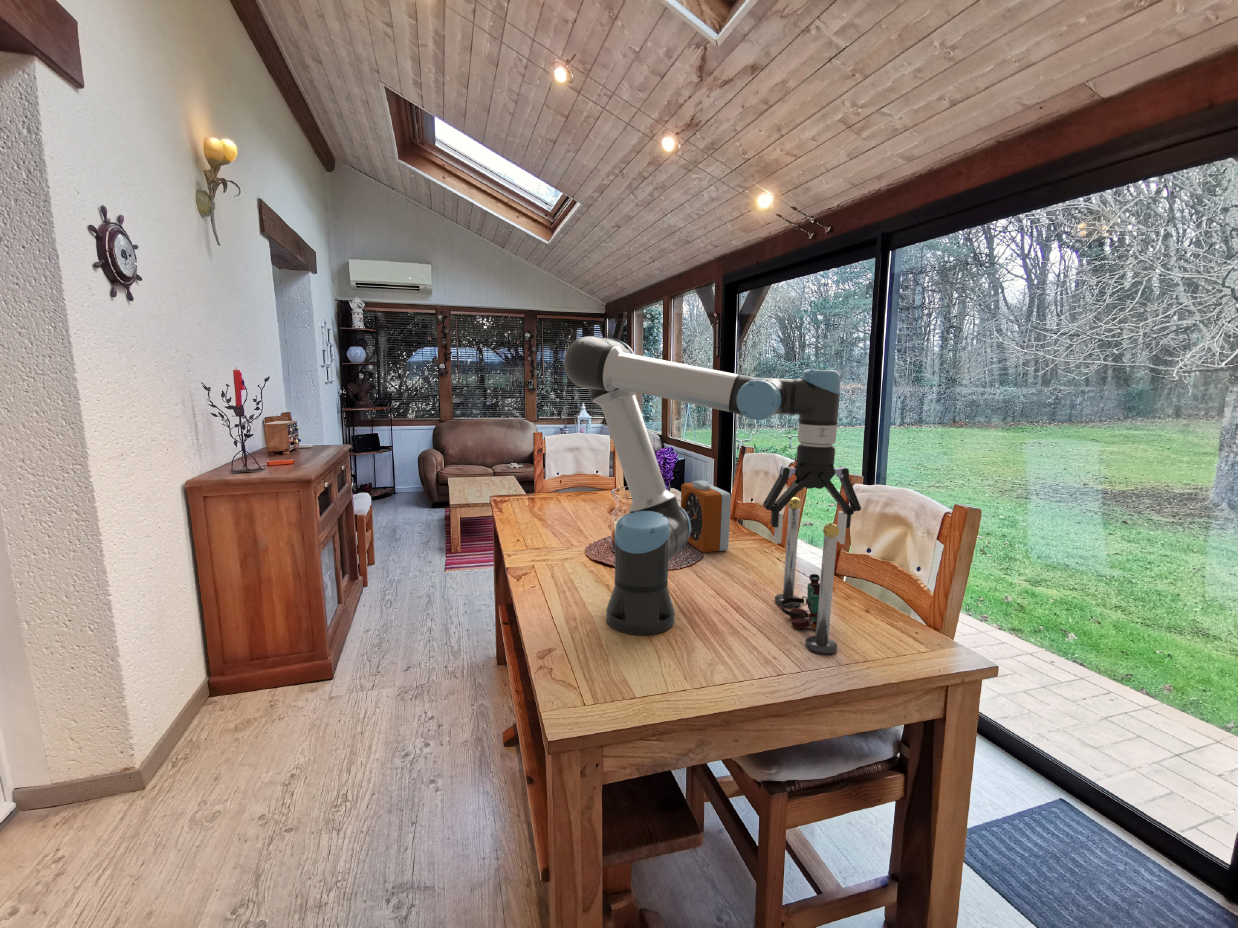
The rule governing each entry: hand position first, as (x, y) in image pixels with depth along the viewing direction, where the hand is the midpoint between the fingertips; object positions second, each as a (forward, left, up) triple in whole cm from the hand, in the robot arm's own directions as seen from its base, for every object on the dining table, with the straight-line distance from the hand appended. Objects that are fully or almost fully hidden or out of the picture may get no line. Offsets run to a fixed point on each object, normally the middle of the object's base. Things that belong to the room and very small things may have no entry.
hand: (809, 542), depth 122 cm
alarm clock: (-13, +56, -19) cm, 61 cm away
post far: (0, +11, -19) cm, 22 cm away
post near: (0, -11, -19) cm, 22 cm away
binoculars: (0, 0, -19) cm, 19 cm away
